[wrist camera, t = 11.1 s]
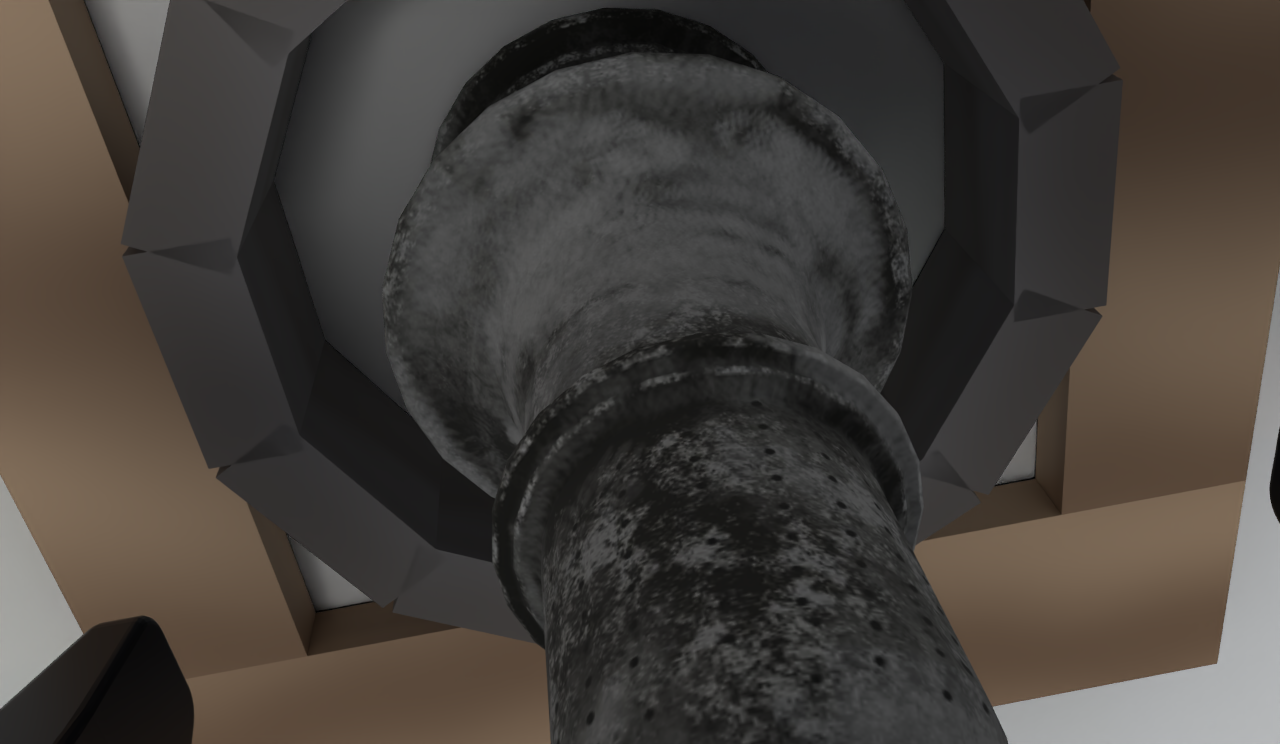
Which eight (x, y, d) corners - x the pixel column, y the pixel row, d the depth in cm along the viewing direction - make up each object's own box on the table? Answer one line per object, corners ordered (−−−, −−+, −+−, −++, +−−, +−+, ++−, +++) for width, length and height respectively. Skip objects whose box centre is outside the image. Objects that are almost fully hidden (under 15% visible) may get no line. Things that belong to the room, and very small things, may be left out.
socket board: (1186, 624, 21) (1267, 728, 19) (213, 810, 20) (180, 938, 18) (1397, -927, 11) (1622, -1093, 9) (-510, -640, 10) (-771, -735, 8)
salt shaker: (834, -39, 14) (1723, 571, 4) (828, 364, 17) (1332, 1321, 7) (365, 6, 14) (3, 807, 4) (441, 410, 17) (359, 1492, 7)
